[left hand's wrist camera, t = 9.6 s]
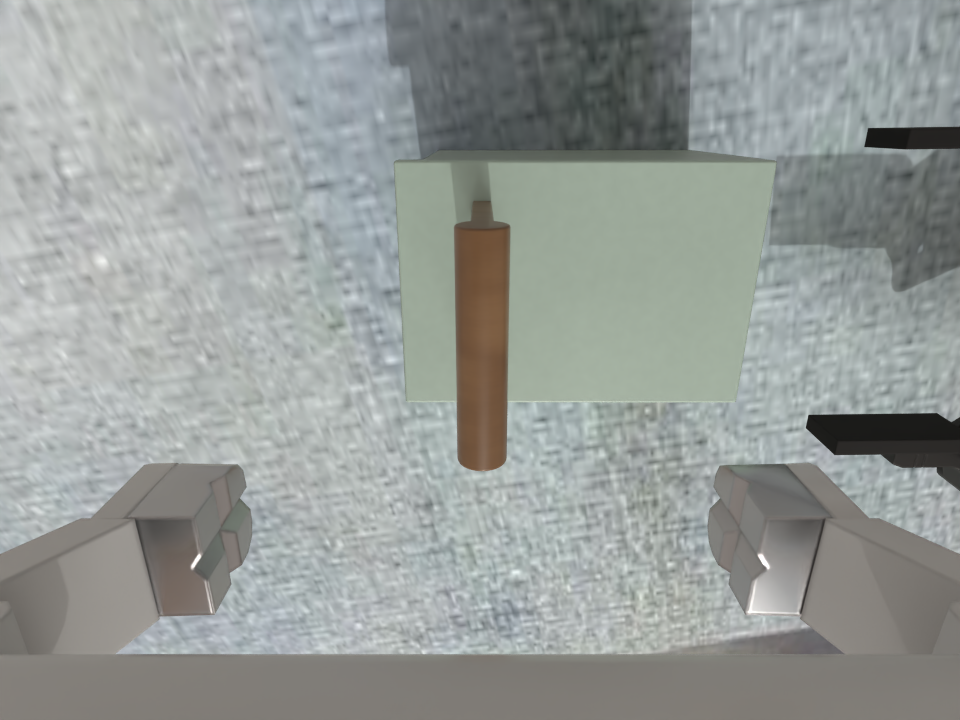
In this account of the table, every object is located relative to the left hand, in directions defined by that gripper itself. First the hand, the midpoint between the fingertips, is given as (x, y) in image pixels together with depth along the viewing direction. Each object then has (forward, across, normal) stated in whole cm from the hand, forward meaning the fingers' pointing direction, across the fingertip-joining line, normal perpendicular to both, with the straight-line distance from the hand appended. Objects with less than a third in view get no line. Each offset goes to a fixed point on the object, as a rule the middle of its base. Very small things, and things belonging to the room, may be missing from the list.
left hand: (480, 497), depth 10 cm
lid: (+15, +4, 0) cm, 15 cm away
